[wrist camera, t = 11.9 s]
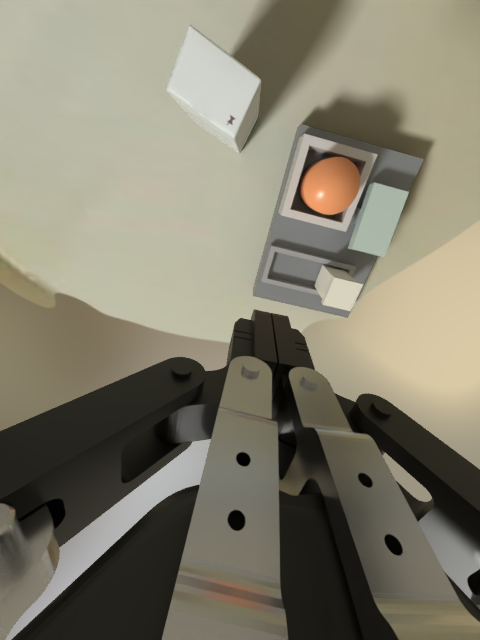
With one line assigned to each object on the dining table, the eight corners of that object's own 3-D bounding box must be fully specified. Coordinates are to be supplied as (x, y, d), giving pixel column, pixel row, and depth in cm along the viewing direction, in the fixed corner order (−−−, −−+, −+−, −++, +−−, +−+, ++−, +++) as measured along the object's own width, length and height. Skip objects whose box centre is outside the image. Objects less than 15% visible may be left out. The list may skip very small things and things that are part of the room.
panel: (297, 127, 30) (306, 118, 25) (411, 160, 31) (441, 157, 26) (253, 289, 39) (253, 304, 34) (342, 310, 40) (355, 327, 35)
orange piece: (307, 154, 29) (318, 150, 24) (351, 166, 29) (369, 164, 25) (292, 203, 31) (299, 207, 27) (333, 214, 31) (346, 220, 27)
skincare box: (259, 115, 30) (265, 80, 19) (239, 154, 31) (235, 141, 21) (211, 79, 28) (188, 20, 18) (193, 122, 30) (163, 91, 19)
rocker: (368, 184, 29) (374, 182, 28) (402, 194, 30) (409, 192, 29) (347, 248, 31) (351, 248, 30) (379, 256, 32) (384, 256, 30)
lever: (321, 262, 34) (334, 277, 29) (346, 268, 35) (363, 284, 29) (312, 286, 36) (322, 304, 31) (336, 292, 36) (350, 311, 31)
